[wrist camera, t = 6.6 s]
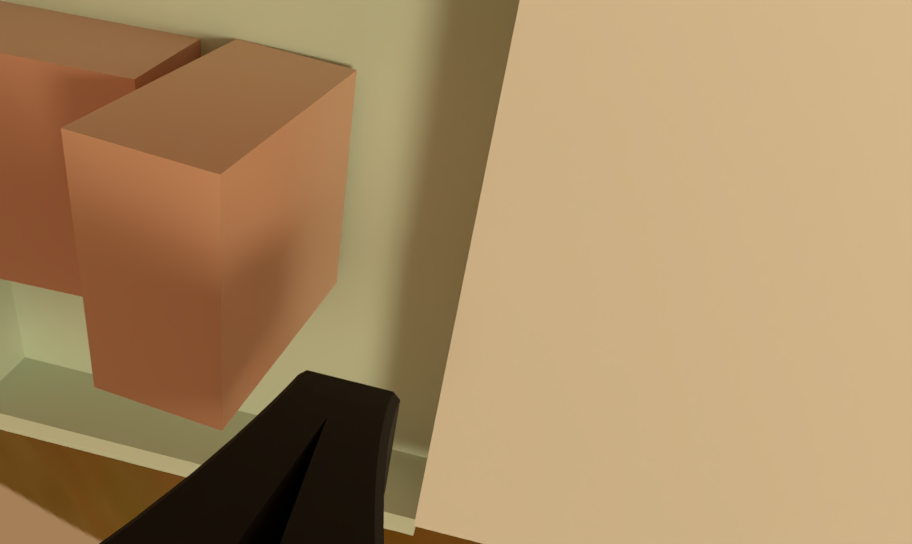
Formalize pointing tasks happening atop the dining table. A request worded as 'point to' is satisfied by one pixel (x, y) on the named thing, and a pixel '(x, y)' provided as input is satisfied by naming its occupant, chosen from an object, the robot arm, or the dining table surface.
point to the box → (362, 238)
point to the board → (688, 282)
